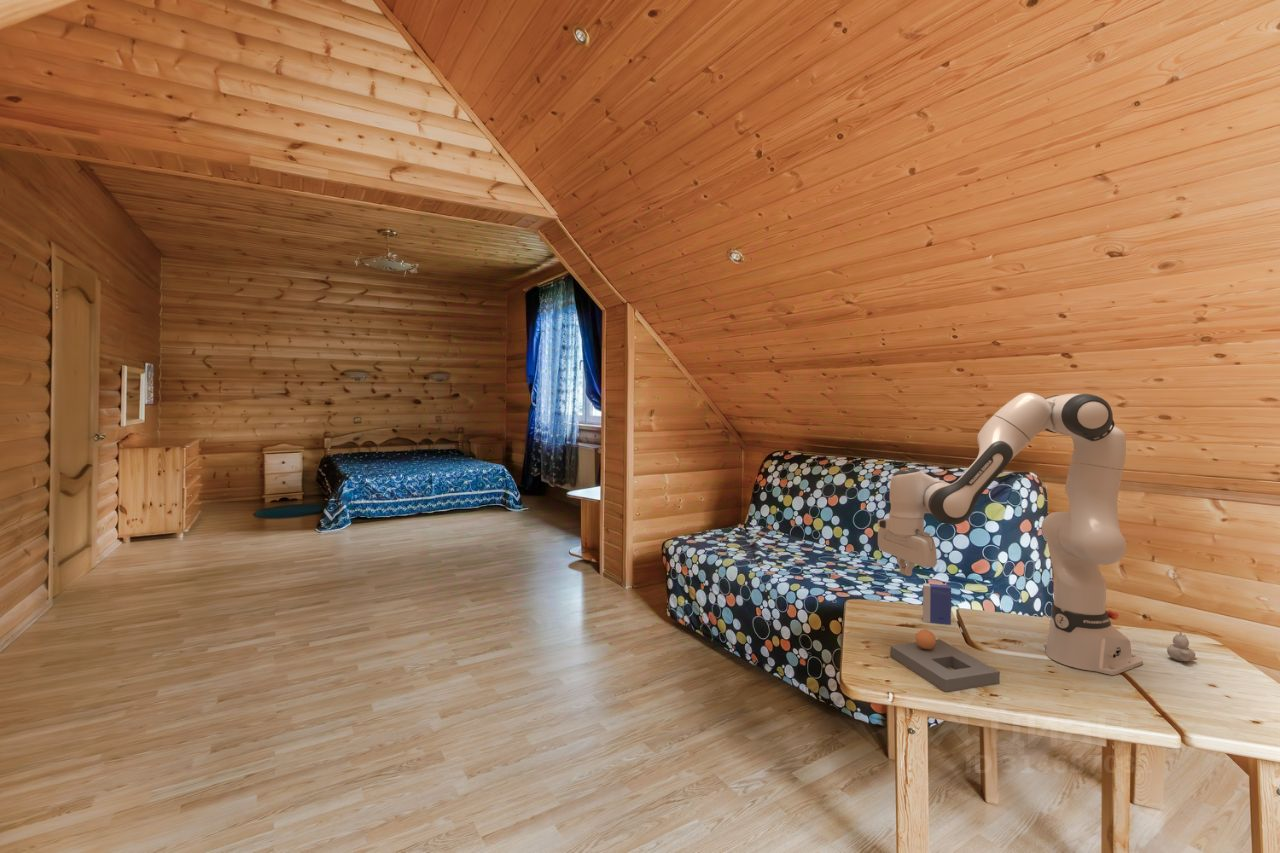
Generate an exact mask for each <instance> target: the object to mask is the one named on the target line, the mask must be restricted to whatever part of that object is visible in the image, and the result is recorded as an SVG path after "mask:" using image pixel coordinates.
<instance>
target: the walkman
mask: <svg viewBox="0 0 1280 853" xmlns="http://www.w3.org/2000/svg"><path fill="white" fill-rule="evenodd" d="M921 589H922V590H921V591H922V592H921V593H922V594H921V595H922V621H923V623H929V624H939V625H949V626H950V625H952V623H951V622H952V587H951V585H948V583H947V584H945V583H942V584H935V583H923V584H922V588H921Z"/></svg>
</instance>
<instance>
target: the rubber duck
mask: <svg viewBox="0 0 1280 853" xmlns="http://www.w3.org/2000/svg"><path fill="white" fill-rule="evenodd" d="M1189 646H1190V641H1189V639H1188V637H1187V635H1185V634H1184V635H1183V633H1182V631H1181V630H1179V634H1178V633H1177V634H1175V636H1173V638H1172V644H1170V645H1169V646H1168V647H1167V648H1166V652H1167V655H1168V656H1169V657H1170V658H1172V659H1173V660H1175V661H1178V662H1184V663H1185V662H1190V661H1194V660H1195V658H1196V653H1195V651H1194V650H1192V649H1191V648H1190V647H1189Z"/></svg>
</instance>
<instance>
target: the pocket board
mask: <svg viewBox="0 0 1280 853" xmlns="http://www.w3.org/2000/svg"><path fill="white" fill-rule="evenodd" d="M889 649H890V650H889V651H890V654H889V657H890V658H892V659H894V660H895V661H896V662H898V663H900V664H901V665H903V666H904V667H906V668H907V669H908V670H910V671H912V672H913V673H915V674H916V675H918V676H919V677H921V678H922V679H924V680H926V681H927V682H929V683H931V684H932V685H934V686H935V687H937V688H938V689H940V690H941V691H943V693H944V692H945V693H949V692H954V691H959V690H967V689H973V688H978V687H985V686H991V685H998V684H1000V681H1001V680H1000V677H1001V674H1000V671H999V670H998V669H995V668H994V667H992V666H991V665H989V664H986V663H985V662H983V661H981V660H978V659H977V658H976V657H974V656H971V655H970V654H968V653H966V652H964V651H962V650H960V649H959V648H957V647H955V646H953V645H952V644H949V643H947V642H945V641H944V640H942V639H940V638H938V639H936V644H935V646H934V647H933V648H931V649H923V648H921V647H920V646H919V645H918V644H917V642H916V641H915V642H907V643H902V644H901V643H900V644H895V645H894V644H893V645H890V648H889ZM949 668H952V669H951V670H950V669H949Z"/></svg>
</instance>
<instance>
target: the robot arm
mask: <svg viewBox="0 0 1280 853" xmlns="http://www.w3.org/2000/svg"><path fill="white" fill-rule="evenodd" d="M1113 417H1114V416H1113V410H1112V408H1111V406H1110V404H1109V403H1108V401H1106V400H1105V399H1104V398H1102V397H1101V396H1098V395H1096V394H1095V395H1094V394H1090V393H1065V394H1056V395H1051V396H1048V397H1047V396H1046V397H1045V398H1044V397H1043V396H1041V395H1039V394H1037V393H1035V392H1034V393H1033V392H1022V393H1020V394H1018V395H1016V396H1015V397H1014V398H1012V399H1011V400H1009V401H1008V402H1006V404H1004V405H1003V406H1001V407H1000V408H999V409H998V410H997V411H996V412H995V413H994V414H993V415H992V416H991V417H990V418H989V419H988V420H987V421H986V422H985V424H984V425H983V426H982V427H981V429H980V430H979V432H978V434H977V438H976V439H977V440H976V442H977V445H978V455H977V457H976V458H975V460H974V461H973V462H972V464H971V465H970V466H969V467H968V468H967V469H966V470H965V471H964V472H963V474H962V475H961V476H959V478H958V479H957V480H955V481H954V482H952V483H949V482H946V481H944V480H942V479H938V478H935V477H933V476H931V475H929V474H927V473H925V472H924V471H922V470H921V469H919V468H904V469H899V470H897V471H895V472H894V473H893V474H892V476H891V479H890V483H889V484H890V485H889V503H890V509H889V510H890V511H889V514H888V515H889V516H888V518H881V519H878V520H877V527H878V531H877V546H878V549H879V550H880V551H881V552H883V553H887V554H889V555H891V556H894V557H896V562H897V564H898V568H899V574H902V575H905V576H907V577H911V576H913V569H914V568H915V566H916V565H917V566H919V567H922V568H925V569H927V568H934V567H936V566H937V564H938V557H937V555H938V554H937V548H936V543H935V540H934V538H933V536H932V535H931V533H929V532H927V531H925V530H924V529H925V528H924V525H925V524H924V520H925V517H924V516H925V514H931V515H932V516H933V517H934V518H935V519H936V520H937V521H938V522H940V523H942V524H945V525H949V526H953V525H959V524H962V523H964V522H965V521H967V520H968V519H969V518H970V517H971V515H973V511H974V509H975V507H976V504H977V502H978V499H980V496H981V495H982V494H983V493H984V492H985V491H986V490H987V489H988V487H989V486H991V484H992V483H993V482H994V481H995V480H996V479H997V477H998V476H999V475H1000V474H1001V473H1002V472H1003V470H1004V469H1005V468H1006V467H1007V466H1008V464H1009V463H1010V462H1011V461H1012V460H1013V459H1014V458H1015V457H1016V456H1017V455H1018V454H1019V453H1020V452H1021V451H1022V450H1023V449H1024V448H1025V447H1026V446H1027V445H1028V444H1029V443H1031V442H1032V441H1033V439H1035V437H1037V435H1038V434H1040V433H1041V432H1042V431H1046V432H1049V433H1053V434H1058V435H1064V436H1070V438H1071V439H1072V443H1073V450H1072V454H1071V459H1070V464H1069V468H1068V472H1067V477H1066V482H1065V486H1064V490H1065V493H1066V494H1065V495H1067V499H1068V506H1069V511H1065V510H1064V511H1063V510H1062V511H1054V512H1050V513H1049V514H1048V515H1046V516H1045V517H1044V518H1043V520H1042V523H1041V527H1040V528H1041V533H1042V535H1043V537H1044V539H1045V541H1046V544H1047V548H1048V553H1049V557H1050V561H1051V565H1052V572H1053V602H1052V603H1051V609H1050V610H1051V617H1052V618H1051V619H1050V620H1049V625H1048V634H1047V638H1046V639H1047V640H1046V641H1044V644H1043V646H1044V647H1045V651H1044V652H1045V655H1046V656H1047V657H1048V658H1050V659H1052V660H1053V661H1055V662H1057V663H1060V664H1062V665H1064V666H1068V667H1070V668H1071V667H1072V668H1075V669H1079V670H1084V671H1090V672H1097V673H1102V674H1106V675H1110V676H1116V675H1119V674H1121V673H1123V672H1126V671H1128V670H1130V669H1134V668H1137V667H1139V666H1142V665H1143V664H1144V662H1143V659H1141V657H1139V656H1138V655H1136V654H1134V653H1132V645H1131V641H1130V639H1129V638H1128V637H1127V636H1126V635H1124V634H1123V633H1122V632H1121V631H1119V630H1118V629H1117V628H1116V627H1114V626H1113V625H1112V623H1111V619H1112V620H1113V621H1117V620H1118V618H1119V616H1120V615H1119V614H1120V613H1118V612H1117V611H1112V610H1110V609H1109V610H1106V608H1107V607H1106V606H1107V605H1106V601H1107V583H1106V580H1105V577H1104V576H1103V574H1102V571H1101V569H1100V567H1099V565H1105V566H1107V565H1112V564H1115V563H1118V562H1120V561H1121V559H1123V558H1124V556H1125V554H1126V553H1127V552H1126V551H1127V542H1126V538H1125V537H1124V535H1123V534H1122V532H1121V528H1120V521H1119V520H1120V519H1119V511H1118V499H1119V493H1120V492H1119V491H1120V487H1121V486H1120V485H1121V482H1122V477H1123V472H1124V469H1125V468H1124V467H1125V463H1126V454H1127V451H1126V450H1127V440H1126V439H1127V437H1126V434H1125V433H1124V431H1123V430H1122V429H1120V428H1119V427H1117V426H1115V425H1116V424H1115V421H1114V418H1113Z"/></svg>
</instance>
